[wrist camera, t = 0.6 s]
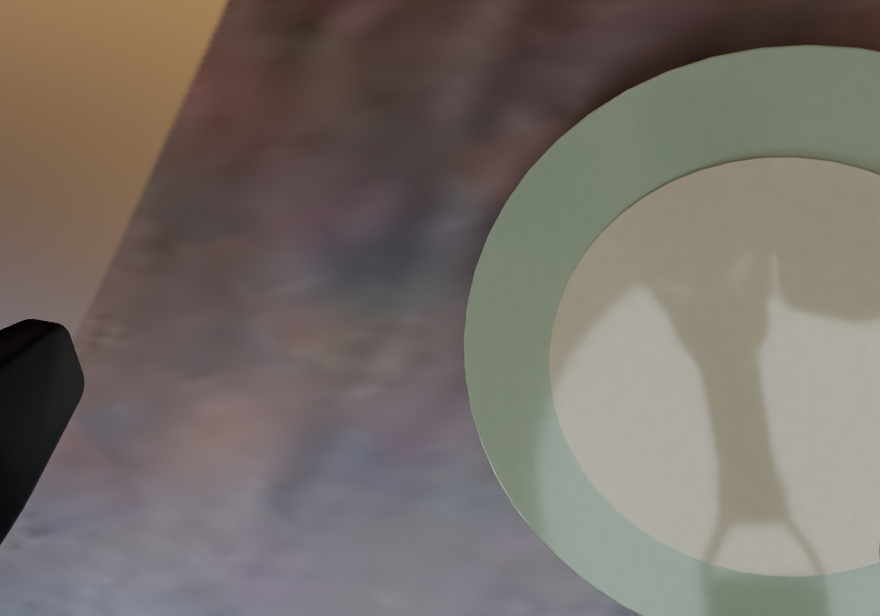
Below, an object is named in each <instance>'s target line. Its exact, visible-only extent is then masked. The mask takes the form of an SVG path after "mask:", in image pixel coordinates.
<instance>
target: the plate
mask: <svg viewBox="0 0 880 616" xmlns="http://www.w3.org/2000/svg"><path fill="white" fill-rule="evenodd" d="M464 360H465V377H466V383H467V389H468V395H469V401H470V407H471V411H472V415H473V418H474V421H475V425H476V428H477V431H478V434H479V438H480V441H481V444H482V446H483V448H484V451H485V453H486V455H487V457H488V460H489V462H490V464H491V466H492V469H493V471H494V473H495V475H496V477H497V479H498V480H499V482H500V484H501V485H502V487H503V489H504V490H505V492H506V494H507V496H508V497H509V499H510V501H511V502H512V504H513V506H514V507H515V508H516V509H517V511H518V512H519V513H520V515H521V516H522V517H523V519H524V520H525V521H526V523H527V524H528V525H529V526H530V528H531V529H532V530H533V532H534V533H535V534H536V535H537V536H538V537H539V538H540V539H541V540H542V541H543V542H544V543H545V545H546V546H547V547H548V548H549V549H550V550H551V551H552V552H553V553H554V554H555V555H556V556H557V557H558V558H559V559H560V560H561V561H562V562H563V563H565V564H566V565H567V566H568V567H569V568H571V569H572V570H573V571H574V572H575V573H577V574H578V575H579V576H580V577H581V578H583V579H584V580H585V581H586V582H587V583H589V584H590V585H592V586H593V587H595V588H596V589H598V590H599V591H601V592H602V593H604V594H605V595H607V596H608V597H610V598H611V599H613V600H614V601H616V602H617V603H619V604H620V605H622V606H624V607H626V608H628V609H630V610H632V611H634V612H636V613H637V614H639V615H641V616H880V555H879V546H880V52H879V51H874V50H869V49H864V48H856V47H840V46H825V45H794V46H778V47H762V48H755V49H750V50H745V51H739V52H734V53H729V54H723V55H718V56H713V57H709V58H706V59H703V60H700V61H697V62H694V63H691V64H688V65H685V66H682V67H678V68H675V69H672V70H669V71H666V72H664V73H662V74H660V75H658V76H656V77H653V78H651V79H649V80H647V81H645V82H643V83H641V84H638V85H636V86H634V87H632V88H630V89H628V90H626V91H624V92H623V93H621V94H619V95H618V96H616V97H615V98H613V99H611V100H610V101H608V102H607V103H605V104H603V105H602V106H600V107H599V108H597V109H596V110H594V111H592V112H591V113H589V114H588V115H587V116H585V117H584V118H583V119H582V120H581V121H579V122H578V123H577V124H576V125H575V126H573V127H572V128H571V129H570V130H568V131H567V132H566V133H565V134H564V135H562V136H561V137H560V138H559V139H558V140H556V141H555V142H554V144H553V145H552V146H551V147H550V148H549V149H548V150H547V151H546V152H545V153H544V154H543V155H542V156H541V157H540V158H539V160H538V161H537V162H536V163H535V164H534V165H533V166H532V167H531V168H530V169H529V170H528V172H527V173H526V174H525V176H524V177H523V179H522V180H521V181H520V183H519V184H518V186H517V187H516V188H515V190H514V191H513V193H512V194H511V195H510V197H509V198H508V200H507V201H506V202H505V204H504V206H503V208H502V210H501V212H500V214H499V216H498V217H497V219H496V221H495V223H494V225H493V227H492V229H491V231H490V232H489V234H488V236H487V239H486V242H485V245H484V247H483V250H482V253H481V255H480V258H479V261H478V263H477V266H476V269H475V272H474V277H473V281H472V285H471V290H470V294H469V298H468V303H467V310H466V321H465V332H464Z"/></svg>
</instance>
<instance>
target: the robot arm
mask: <svg viewBox="0 0 880 616" xmlns="http://www.w3.org/2000/svg"><path fill="white" fill-rule="evenodd" d="M83 390H84V375H83V372H82V369H81V366H80V363H79V360H78V357H77V354H76V351H75V348H74V345H73V343H72V340H71V337H70V334H69V332H68V330H67V329H66V328H65V327H64V326H63V325H60V324H58V323H54V322H48V321H42V320H36V319H27V320H23V321H21V322H18V323H16V324H13V325H12V326H9V327H7V328H4V329H2V330H0V545H1V543H2V542H3V540H4V539H5V537H6V536H7V534H8V532H9V531H10V529H11V528H12V526H13V525H14V523H15V521H16V520H17V518H18V516H19V515H20V513H21V512H22V510H23V508H24V506H25V505H26V503H27V501H28V499H29V497H30V496H31V494H32V492H33V490H34V488H35V486H36V484H37V482H38V480H39V479H40V477H41V475H42V473H43V471H44V469H45V467H46V465H47V463H48V461H49V459H50V457H51V455H52V453H53V451H54V449H55V448H56V446H57V444H58V442H59V440H60V438H61V436H62V434H63V432H64V430H65V428H66V426H67V424H68V422H69V420H70V418H71V417H72V415H73V413H74V411H75V409H76V407H77V405H78V403H79V401H80V399H81V396H82V393H83ZM879 555H880V546H879Z"/></svg>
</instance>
